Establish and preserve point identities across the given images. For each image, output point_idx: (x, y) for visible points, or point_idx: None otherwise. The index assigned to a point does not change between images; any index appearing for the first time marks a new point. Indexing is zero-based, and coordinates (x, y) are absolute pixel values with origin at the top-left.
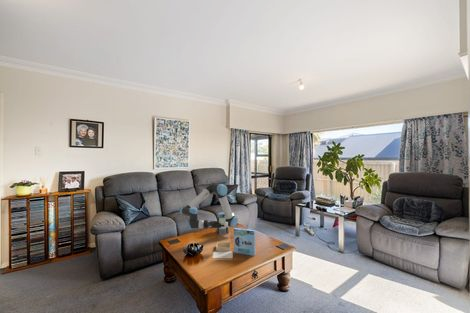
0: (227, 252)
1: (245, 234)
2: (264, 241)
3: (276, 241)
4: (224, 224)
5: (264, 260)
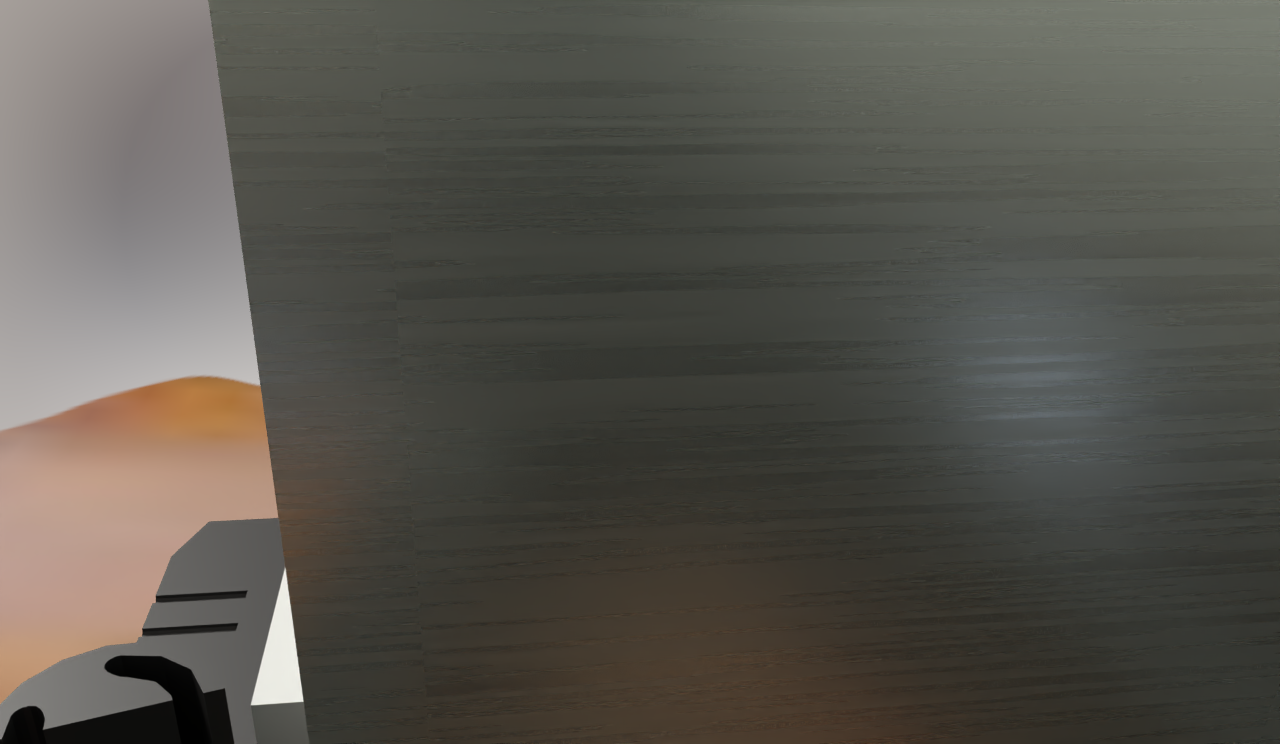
0: None
1: None
2: (93, 514)
3: (159, 395)
4: None
5: None
